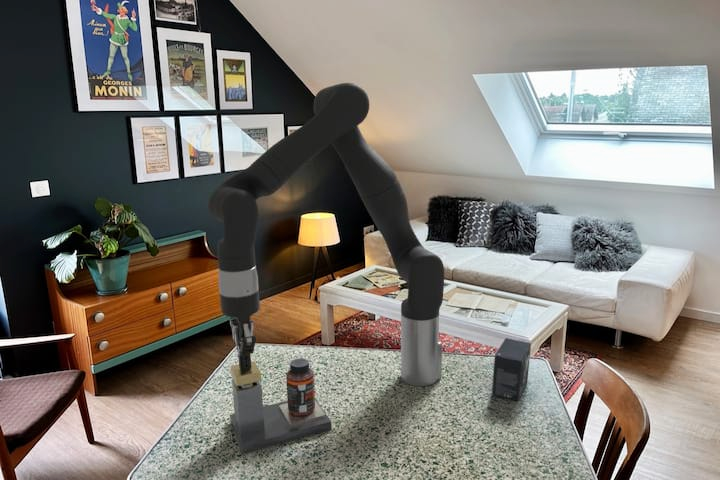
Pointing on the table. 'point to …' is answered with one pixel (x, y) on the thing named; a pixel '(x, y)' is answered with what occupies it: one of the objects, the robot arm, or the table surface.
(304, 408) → the supplement bottle
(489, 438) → the table surface
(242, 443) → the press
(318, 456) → the table surface
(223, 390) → the table surface
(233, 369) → the plunger
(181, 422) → the table surface
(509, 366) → the box
